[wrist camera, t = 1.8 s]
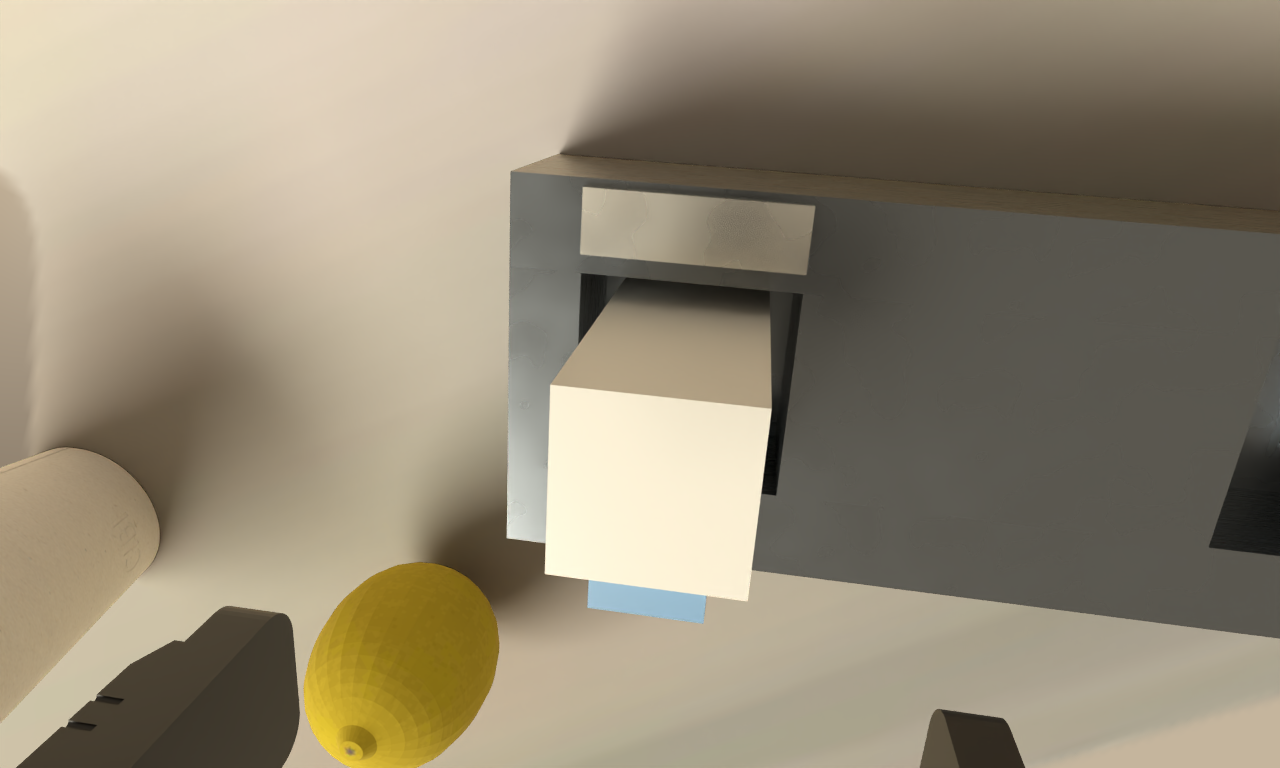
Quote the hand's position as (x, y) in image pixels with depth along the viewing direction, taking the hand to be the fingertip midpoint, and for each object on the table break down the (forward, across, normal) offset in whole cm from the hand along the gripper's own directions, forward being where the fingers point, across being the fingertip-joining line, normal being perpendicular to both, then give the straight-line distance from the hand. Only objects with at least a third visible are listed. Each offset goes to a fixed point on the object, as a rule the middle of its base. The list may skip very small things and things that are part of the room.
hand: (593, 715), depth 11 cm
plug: (+16, 0, 0) cm, 16 cm away
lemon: (+17, +8, +10) cm, 22 cm away
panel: (+17, -8, 0) cm, 19 cm away
